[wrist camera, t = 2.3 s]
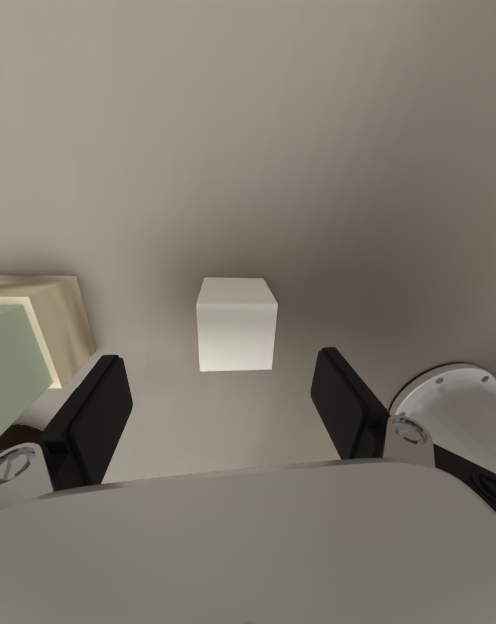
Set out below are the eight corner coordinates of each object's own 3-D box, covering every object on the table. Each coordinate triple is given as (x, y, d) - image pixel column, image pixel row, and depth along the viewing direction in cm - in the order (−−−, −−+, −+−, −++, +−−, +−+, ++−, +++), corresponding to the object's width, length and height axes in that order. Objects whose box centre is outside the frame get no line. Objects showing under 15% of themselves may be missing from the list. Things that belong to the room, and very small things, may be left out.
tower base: (77, 275, 18) (28, 296, 14) (96, 349, 21) (61, 388, 17) (-20, 274, 18) (-105, 296, 13) (13, 351, 21) (-47, 391, 16)
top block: (263, 278, 20) (277, 304, 14) (259, 329, 22) (271, 369, 16) (204, 277, 19) (196, 303, 14) (206, 330, 21) (199, 371, 16)
